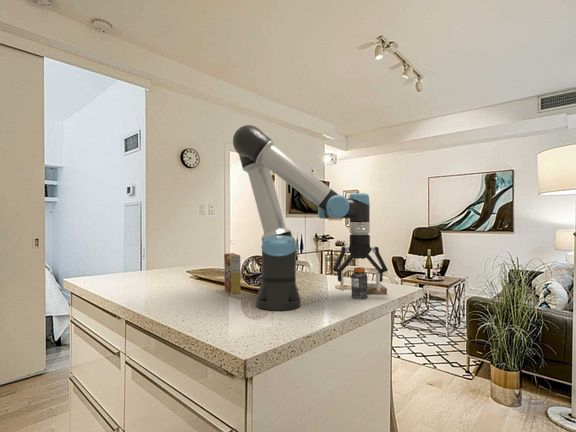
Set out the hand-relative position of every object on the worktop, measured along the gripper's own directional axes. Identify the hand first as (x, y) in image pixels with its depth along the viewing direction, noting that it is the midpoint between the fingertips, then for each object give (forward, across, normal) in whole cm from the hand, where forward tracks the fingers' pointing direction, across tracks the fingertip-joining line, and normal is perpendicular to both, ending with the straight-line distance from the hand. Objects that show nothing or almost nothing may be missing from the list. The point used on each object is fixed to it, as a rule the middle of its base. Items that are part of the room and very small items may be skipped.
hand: (360, 290), depth 125 cm
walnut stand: (+3, +7, +11) cm, 13 cm away
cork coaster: (+3, -3, +19) cm, 19 cm away
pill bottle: (+3, 0, 0) cm, 3 cm away
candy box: (+2, -50, +8) cm, 51 cm away
